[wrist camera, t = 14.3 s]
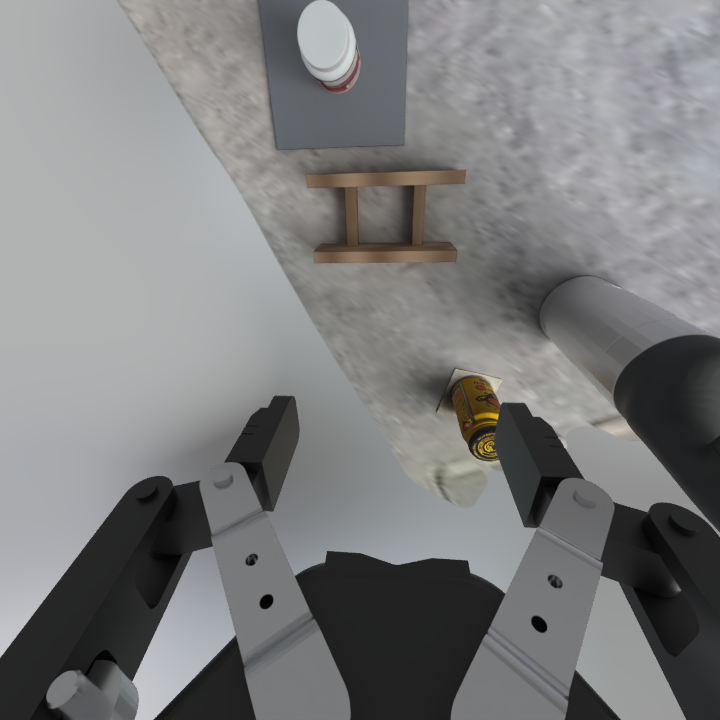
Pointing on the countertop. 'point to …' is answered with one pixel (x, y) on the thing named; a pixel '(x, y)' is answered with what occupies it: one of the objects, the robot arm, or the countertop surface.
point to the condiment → (474, 410)
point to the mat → (348, 109)
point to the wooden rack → (385, 251)
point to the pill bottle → (328, 46)
